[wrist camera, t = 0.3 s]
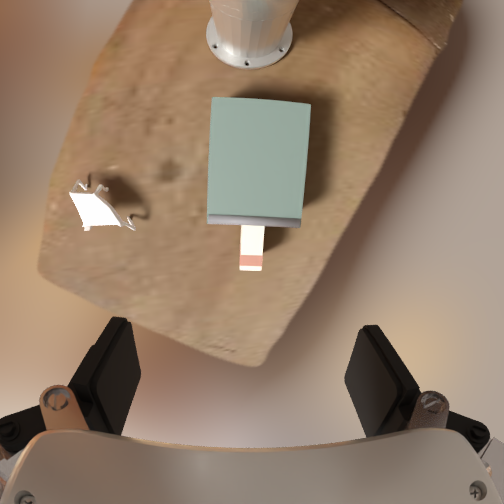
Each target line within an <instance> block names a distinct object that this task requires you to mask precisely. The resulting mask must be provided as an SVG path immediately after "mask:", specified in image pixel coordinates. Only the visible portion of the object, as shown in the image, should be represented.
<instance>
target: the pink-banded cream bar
mask: <svg viewBox="0 0 504 504" xmlns="http://www.w3.org/2000/svg"><path fill="white" fill-rule="evenodd" d="M264 227H265V226H252V225H241V240H240V270H252V271H261V266H262V258H263V255H262V253H263V240H264Z"/></svg>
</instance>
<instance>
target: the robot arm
mask: <svg viewBox="0 0 504 504" xmlns="http://www.w3.org/2000/svg"><path fill="white" fill-rule="evenodd" d="M209 2H210V6H211V11H212V15H213V16H212V17H211V19H210V21H209V23H208V26H207V30H206V38H207V42H208V45H209V47H210V49H211V51H212V52H213V54H214V55H215V56H216V57H217V58H218V59H219V60H221V61H222V62H224V63H225V64H227V65H230V66H232V67H235V68H239V69H247V70H251V69H260V68H265V67H267V66H270V65H272V64H274V63H276V62H277V61H279V60H280V59H281V58H282V57H283V56H284V55H285V54H286V52H287V51H288V49H289V47H290V45H291V42H292V37H293V31H292V26H291V24H290V19H291V17H292V15H293V12H294V10H295V8H296V6H297V4H298V2H299V0H209ZM215 46H217V48H214V47H215ZM279 50H282V51H283V52H280V51H279ZM246 63H248V64H249V65H248V66H246V65H245V64H246ZM140 377H141V369H140V366H139V360H138V356H137V351H136V346H135V341H134V335H133V330H132V325H131V322H128V321H127V319H126V318H122V317H112V318H111V319H110V321H109V323H108V324H107V326H106V327H105V329H104V331H103V332H102V334H101V335H100V337H99V338H98V340H97V342H96V343H95V345H92V346H91V348H90V349H89V351H88V352H87V354H86V356H85V357H84V359H83V360H82V362H81V364H80V365H79V367H78V369H77V371H76V372H75V374H74V376H73V377H72V379H71V381H70V383H69V384H68V386H64V385H53V386H50V387H48V388H47V389H45V390H44V391H43V392H42V394H41V395H40V398H39V403H40V405H37V406H35V407H31V408H29V409H26V410H23V411H20V412H17V413H14V414H11V415H8V416H5V417H3V418H1V419H0V504H504V444H503V443H502V442H501V441H499V440H498V439H496V438H495V437H493V439H490V433H489V430H488V428H487V427H486V426H485V425H484V424H483V423H481V422H479V421H476V420H473V419H470V418H467V417H465V416H462V415H460V414H457V413H454V412H451V411H449V402H448V400H447V399H446V397H445V396H443V395H442V394H440V393H438V392H436V391H425V392H423V393H421V392H420V390H419V388H420V387H419V386H418V384H417V383H416V381H415V380H414V378H413V376H412V375H411V373H410V372H409V370H408V369H407V367H406V366H405V364H404V363H403V362H402V360H401V358H400V357H399V356H398V354H397V352H396V351H395V349H394V348H393V346H392V345H391V343H390V342H389V340H388V339H387V338H386V336H385V335H384V333H383V332H382V330H381V329H380V327H379V326H378V325H365V326H364V327H363V328H362V329H360V330H359V332H358V336H357V339H356V342H355V346H354V349H353V352H352V355H351V358H350V361H349V364H348V367H347V371H346V373H345V384H346V386H347V389H348V392H349V394H350V397H351V399H352V402H353V404H354V407H355V409H356V412H357V414H358V417H359V419H360V422H361V424H362V427H363V430H364V432H365V435H366V438H362V439H355V440H350V441H343V442H335V443H328V444H318V445H309V446H295V447H277V448H221V447H204V446H203V447H202V446H191V445H181V444H171V443H164V442H156V441H149V440H142V439H136V438H131V437H125V436H121V433H122V430H123V427H124V424H125V421H126V418H127V415H128V412H129V409H130V406H131V403H132V400H133V398H134V395H135V392H136V389H137V386H138V383H139V380H140Z"/></svg>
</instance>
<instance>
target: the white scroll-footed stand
mask: <svg viewBox="0 0 504 504" xmlns="http://www.w3.org/2000/svg"><path fill="white" fill-rule="evenodd" d="M79 184H80V185H81V186H82V187H83V188H84V189H85V190H87V184H86V185H85V186H84V185H83V183H82V182H81V181H80V180H77V182H76V183H75V185H74V187H73V189H72V191H70V195H71V197H72V199H73V201H74V203H75V205H76V207H77V209H78V211H79V214H80V216H81V218H82V221H83V223H84V224H83V227H85V229H84V231H88V230H90V229H91V228H92V227H93V226H94V225H119V226H121V227H122V226H124V225H125V226H127V227H129V228H131V229H132V230H136V227H135V225H134V223H133V222H132V220H131V218H130V217H129V216H127V218H128V222H129V223H130V224H128V223H126V222H124V221H123V220H122V219H121V218H120V216H119V215H118V213H117V212H116V211H115V209H114V208H113V207H112V206H111V205H110V204H109V203H108V202H107V201H106V200H104V199H103V198H102V197H101V196H99V195H98V193H99V192H100V191H101V189H103V190H104V191H105V192H107V191H108V190H109V188H108V187H106V188H104V186H103V185H101V184H99V186H98V187H97V189H96V191H95V192H94V193H86V192H76V191H77V187H78V185H79Z"/></svg>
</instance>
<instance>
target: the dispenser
mask: <svg viewBox="0 0 504 504" xmlns="http://www.w3.org/2000/svg"><path fill="white" fill-rule="evenodd" d="M310 111H311V104H304V103H296V102H287V101H277V100H265V99H251V98H228V97H212V106H211V122H210V142H209V165H208V197H207V224H228V225H252V226H273V227H292V228H300V225H301V216H302V207H303V197H304V186H305V176H306V164H307V153H308V140H309V126H310Z"/></svg>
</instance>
